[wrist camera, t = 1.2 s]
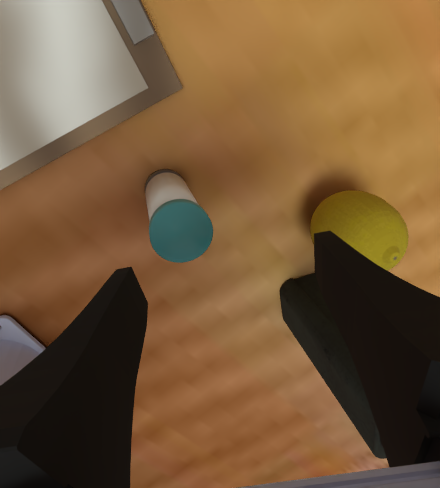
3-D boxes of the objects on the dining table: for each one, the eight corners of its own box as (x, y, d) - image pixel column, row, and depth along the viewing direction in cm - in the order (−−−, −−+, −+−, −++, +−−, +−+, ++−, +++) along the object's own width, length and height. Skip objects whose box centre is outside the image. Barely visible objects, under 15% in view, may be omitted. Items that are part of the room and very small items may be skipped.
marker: (157, 218, 23) (170, 272, 16) (134, 181, 22) (136, 224, 15) (195, 197, 23) (223, 243, 16) (173, 159, 22) (195, 192, 15)
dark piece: (331, 265, 29) (979, 830, 7) (333, 309, 31) (817, 834, 9) (278, 282, 28) (808, 970, 6) (283, 326, 30) (681, 936, 9)
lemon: (280, 210, 25) (338, 258, 18) (337, 163, 25) (420, 193, 18) (313, 256, 28) (375, 312, 21) (365, 214, 27) (447, 257, 20)
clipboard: (-36, 209, 20) (-46, 216, 18) (-237, 5, 14) (-271, -3, 13) (181, 88, 20) (184, 88, 19) (61, -158, 15) (56, -181, 13)
